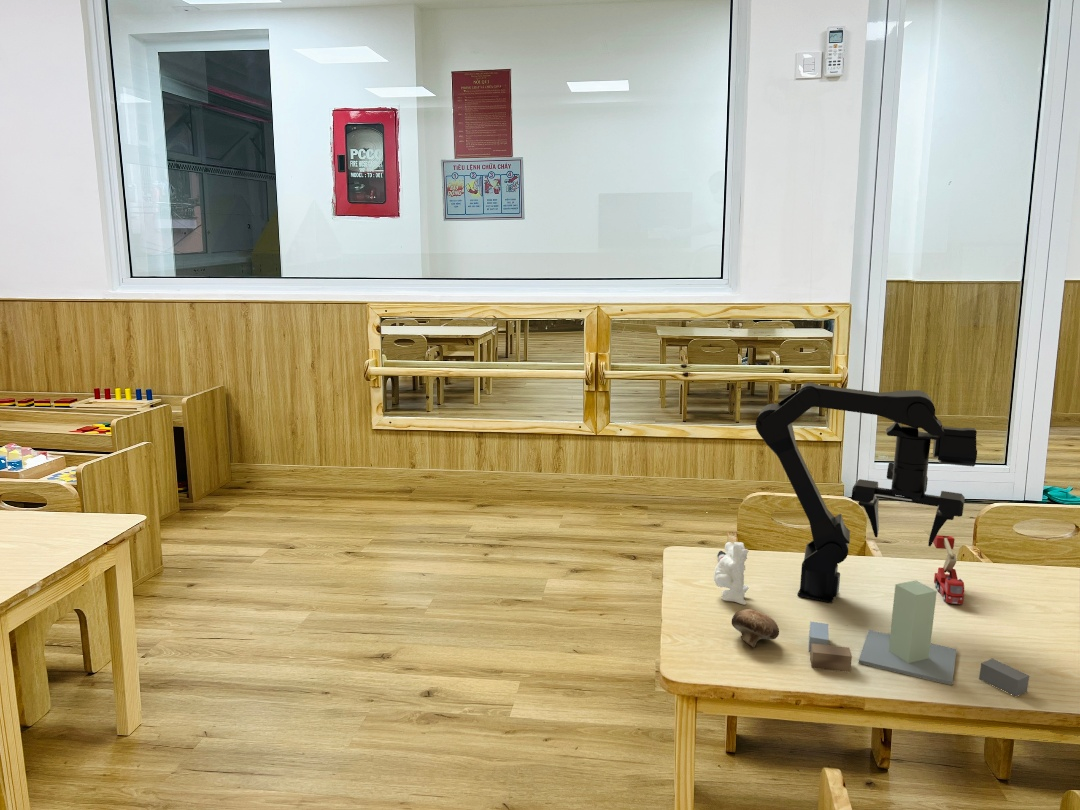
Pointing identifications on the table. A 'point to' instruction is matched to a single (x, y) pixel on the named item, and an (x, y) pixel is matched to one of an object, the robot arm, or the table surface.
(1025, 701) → the table surface
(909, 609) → the sage brick
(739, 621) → the mushroom
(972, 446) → the robot arm
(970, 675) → the table surface
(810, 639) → the dusty blue brick
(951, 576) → the toy fire truck
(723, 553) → the marker
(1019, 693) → the charcoal brick
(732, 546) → the white toy figurine
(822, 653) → the walnut brick
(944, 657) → the slate mat
